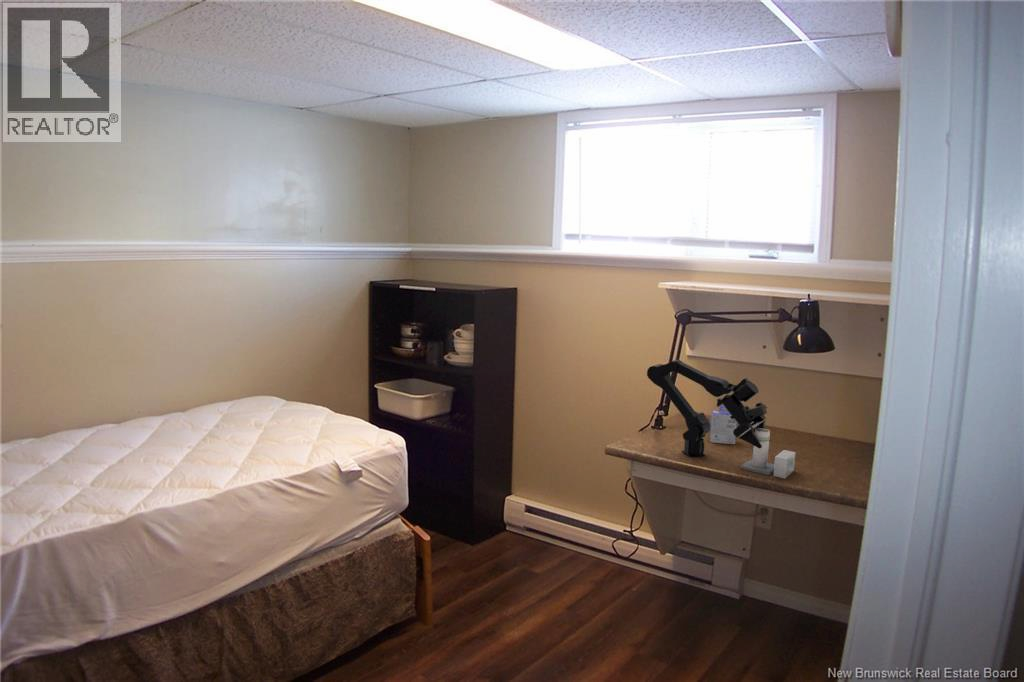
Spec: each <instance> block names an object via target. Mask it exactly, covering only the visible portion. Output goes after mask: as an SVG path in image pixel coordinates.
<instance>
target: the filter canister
mask: <svg viewBox="0 0 1024 682" xmlns="http://www.w3.org/2000/svg"><path fill="white" fill-rule="evenodd" d="M770 433H771V430H769V429H766V428H765V429H760V428H758V429H755V433H754V434H755V436H756V437H757V439H758V440H759V442H760V444H761V446H762V447H761V448H758V447H756V446H754V445H753V451H752V460H753V461H752V465H753V466H754V467H758V468H766V467H767V463H768V460H769V458H768V457H769V449H770V448H769V447H770V442H769V439H770V438H771V437H770V436H771V434H770ZM770 440H771V439H770Z"/></svg>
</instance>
